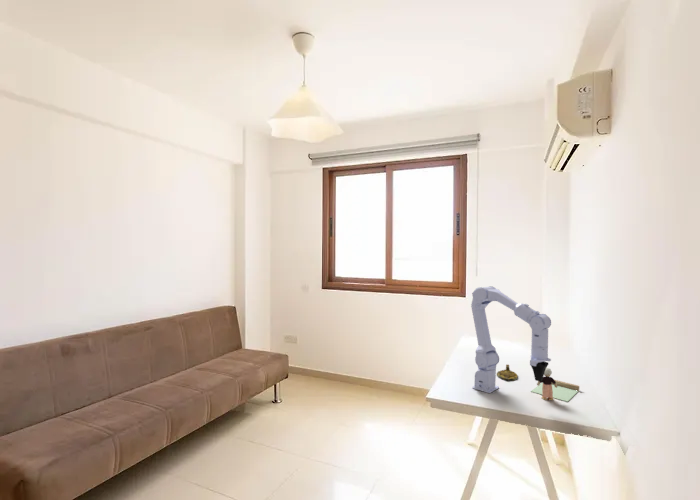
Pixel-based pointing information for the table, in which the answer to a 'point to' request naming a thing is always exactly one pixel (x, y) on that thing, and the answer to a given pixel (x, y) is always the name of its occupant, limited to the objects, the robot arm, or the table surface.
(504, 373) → the seal
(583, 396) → the table surface
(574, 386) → the beech stop strip
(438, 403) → the table surface
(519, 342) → the table surface
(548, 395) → the grandmother figurine
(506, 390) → the table surface
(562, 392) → the felt mat
